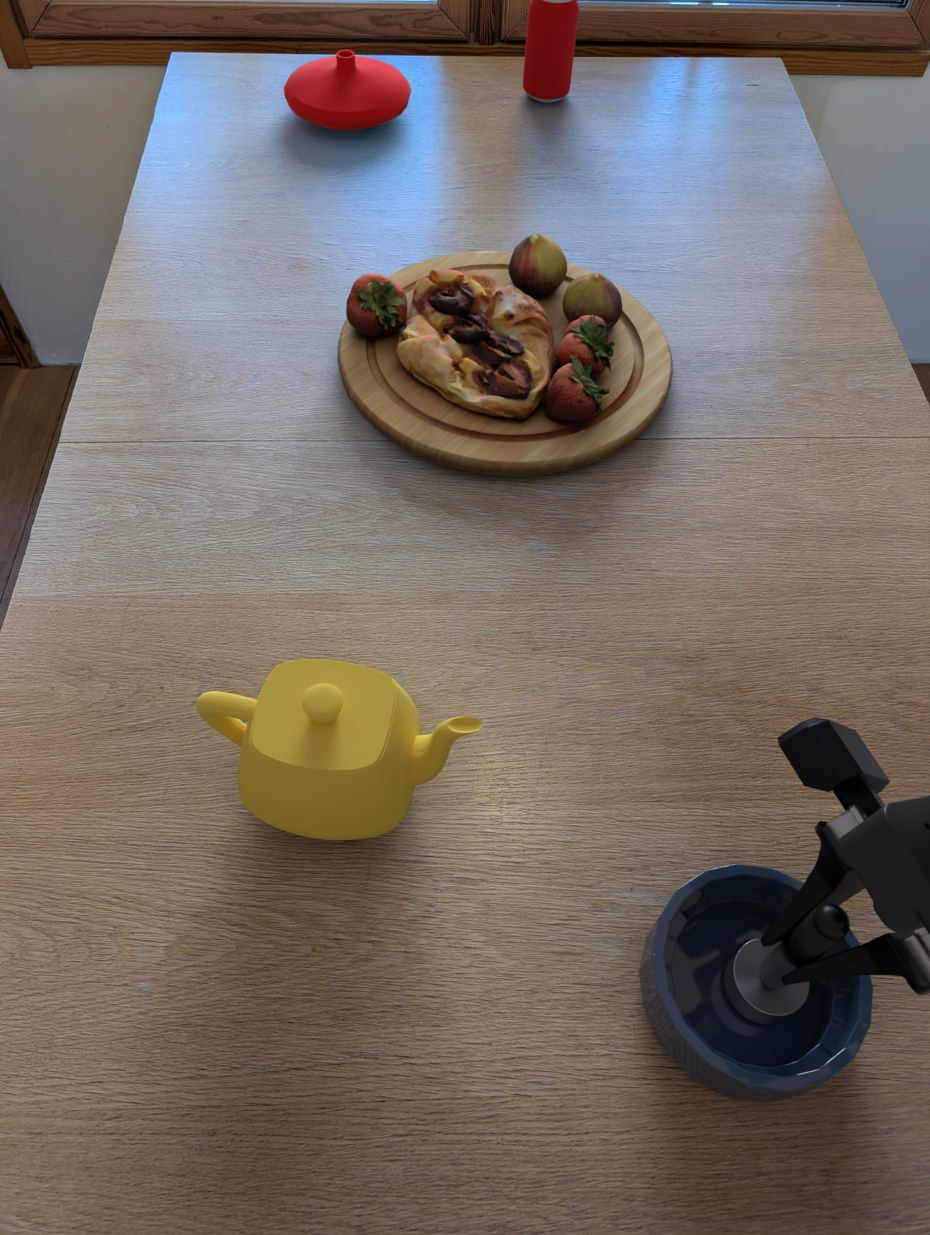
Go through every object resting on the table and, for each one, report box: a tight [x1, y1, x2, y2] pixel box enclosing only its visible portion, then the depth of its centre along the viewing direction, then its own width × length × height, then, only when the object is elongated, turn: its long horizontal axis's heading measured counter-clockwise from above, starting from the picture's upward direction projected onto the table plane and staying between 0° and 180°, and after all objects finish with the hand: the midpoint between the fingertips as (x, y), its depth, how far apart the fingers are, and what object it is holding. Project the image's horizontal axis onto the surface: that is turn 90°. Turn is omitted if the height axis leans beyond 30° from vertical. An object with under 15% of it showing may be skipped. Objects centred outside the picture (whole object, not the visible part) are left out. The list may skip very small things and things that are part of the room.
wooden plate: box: [337, 233, 674, 477], centre depth 88 cm, size 32×32×8 cm
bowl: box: [638, 863, 874, 1104], centre depth 55 cm, size 12×13×5 cm
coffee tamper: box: [724, 903, 851, 1024], centre depth 51 cm, size 4×4×13 cm
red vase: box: [283, 49, 412, 131], centre depth 115 cm, size 16×16×7 cm
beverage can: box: [522, 0, 580, 104], centre depth 118 cm, size 6×6×12 cm
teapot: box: [195, 658, 483, 841], centre depth 60 cm, size 18×11×11 cm, turn 82°
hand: (774, 962), depth 51 cm, fingers closed on coffee tamper, 2 cm apart
